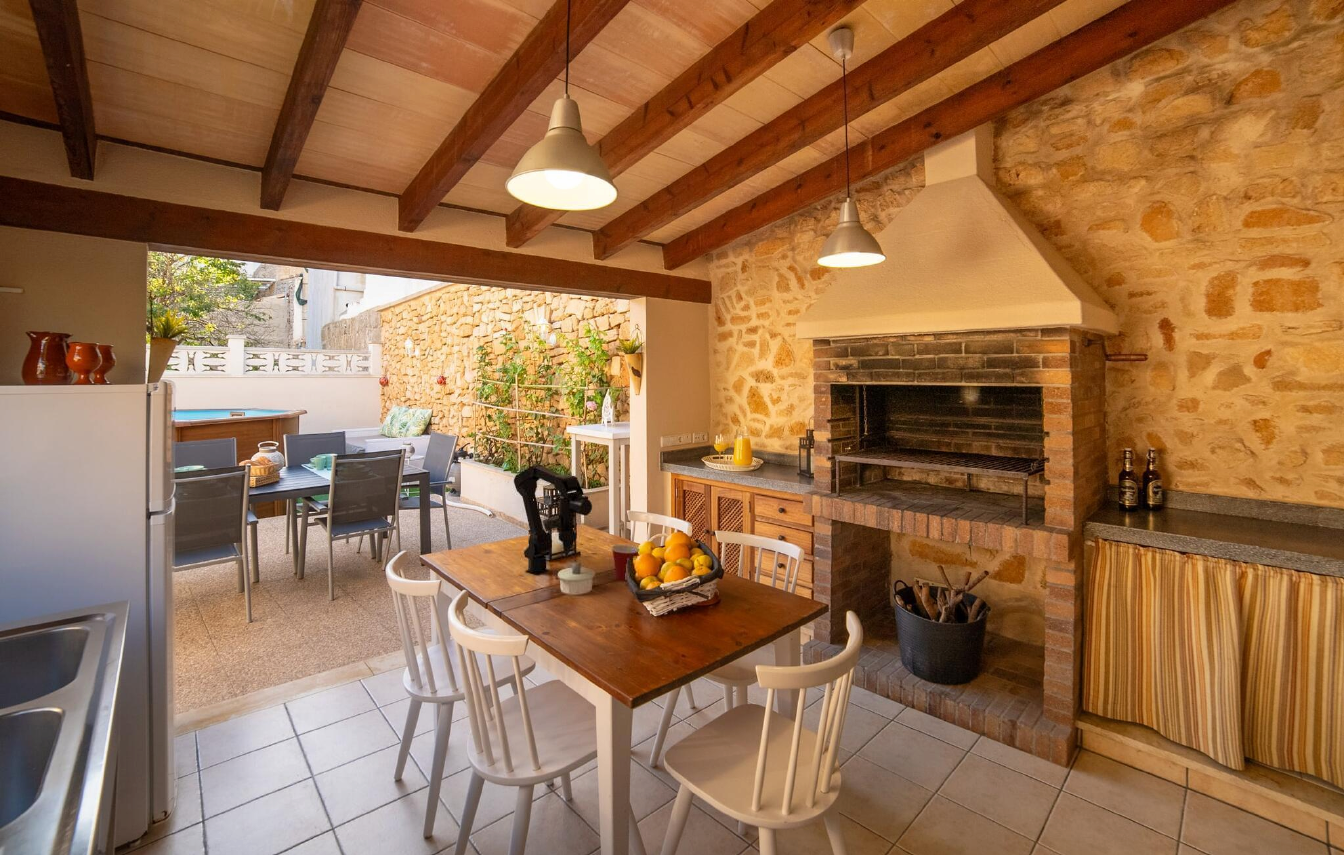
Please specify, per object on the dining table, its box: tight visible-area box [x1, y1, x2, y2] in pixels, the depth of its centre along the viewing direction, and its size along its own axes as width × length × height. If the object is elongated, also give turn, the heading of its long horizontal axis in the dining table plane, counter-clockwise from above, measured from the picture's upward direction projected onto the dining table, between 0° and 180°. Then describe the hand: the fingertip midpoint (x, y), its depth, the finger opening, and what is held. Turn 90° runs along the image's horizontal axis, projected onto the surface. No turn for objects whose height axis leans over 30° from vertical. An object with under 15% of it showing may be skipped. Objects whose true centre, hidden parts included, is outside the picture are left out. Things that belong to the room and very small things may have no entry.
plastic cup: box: [611, 544, 640, 582], centre depth 227 cm, size 11×11×12 cm
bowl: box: [559, 578, 593, 596], centre depth 213 cm, size 11×11×5 cm
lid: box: [557, 561, 596, 582], centre depth 213 cm, size 13×13×4 cm
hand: (565, 551), depth 220 cm, fingers open, 9 cm apart
